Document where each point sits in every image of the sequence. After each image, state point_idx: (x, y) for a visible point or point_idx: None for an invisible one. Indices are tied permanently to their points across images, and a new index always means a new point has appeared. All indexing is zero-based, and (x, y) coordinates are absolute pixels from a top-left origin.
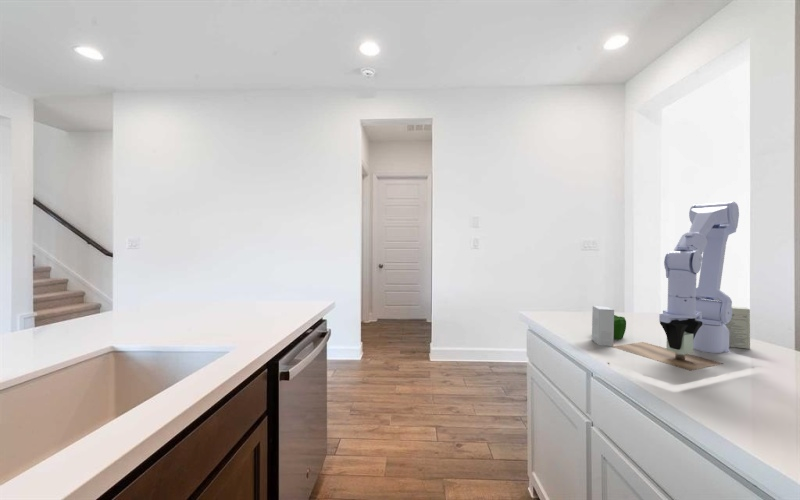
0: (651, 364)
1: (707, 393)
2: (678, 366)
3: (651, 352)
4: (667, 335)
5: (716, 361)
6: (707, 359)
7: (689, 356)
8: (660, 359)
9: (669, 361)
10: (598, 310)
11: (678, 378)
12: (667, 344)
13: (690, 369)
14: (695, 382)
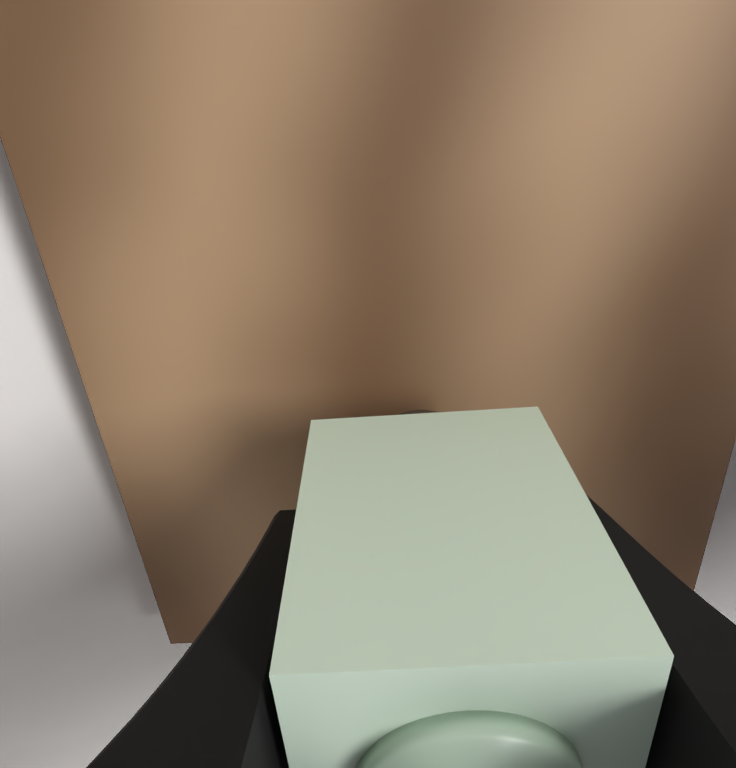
0: (70, 354)
1: (6, 761)
2: (159, 571)
3: (328, 155)
4: (186, 673)
5: (694, 579)
6: (694, 527)
7: (642, 420)
8: (169, 398)
9: (211, 467)
10: None
11: (28, 616)
12: (304, 483)
13: (195, 633)
14: (91, 676)
